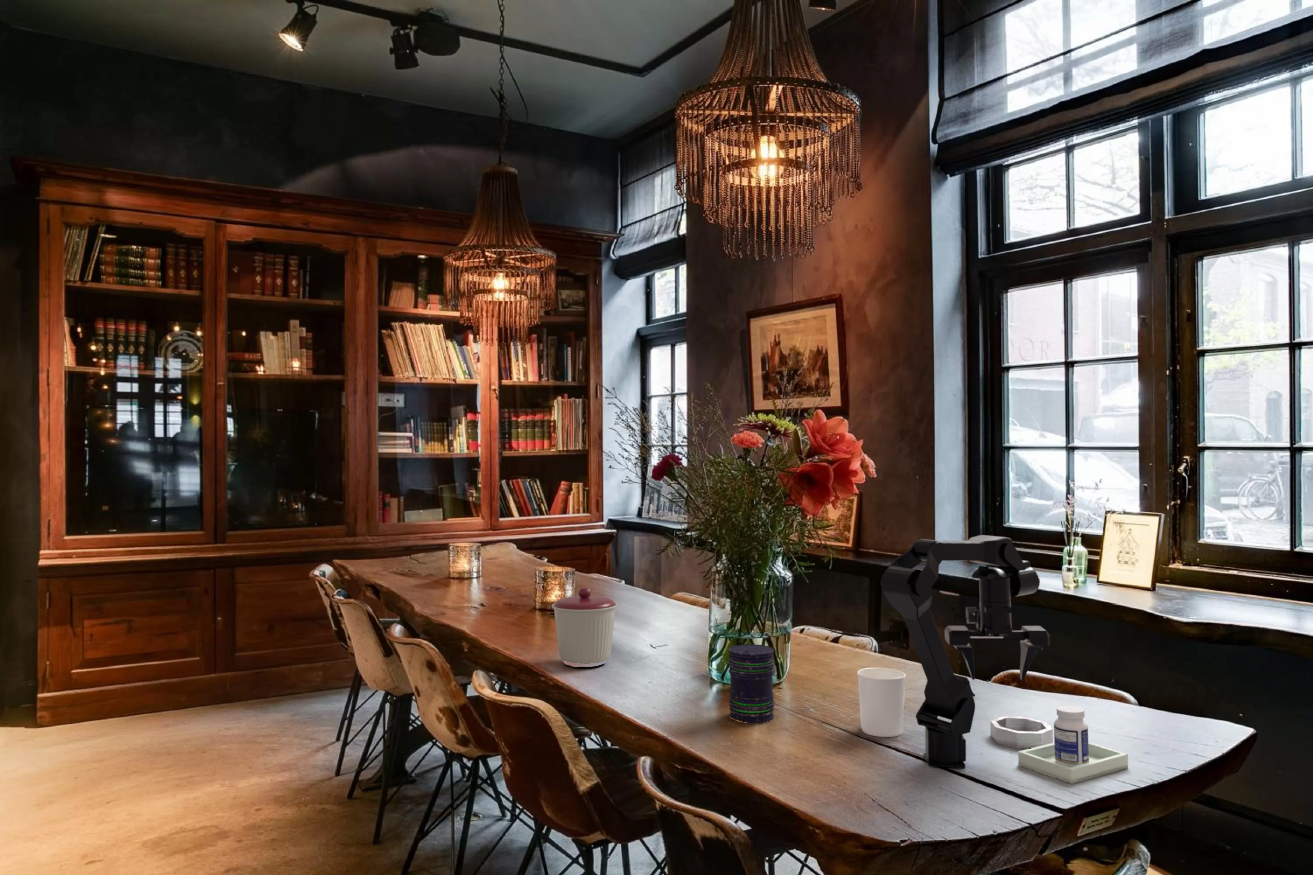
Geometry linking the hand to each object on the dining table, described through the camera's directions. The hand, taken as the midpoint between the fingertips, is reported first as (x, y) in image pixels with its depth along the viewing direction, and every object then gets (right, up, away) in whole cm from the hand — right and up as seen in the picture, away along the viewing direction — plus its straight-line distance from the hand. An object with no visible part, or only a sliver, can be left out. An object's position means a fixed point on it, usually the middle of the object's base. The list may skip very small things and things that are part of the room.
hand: (997, 679), depth 176 cm
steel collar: (+6, -13, +4) cm, 15 cm away
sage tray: (+10, -13, -11) cm, 20 cm away
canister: (-87, -15, +71) cm, 113 cm away
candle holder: (-20, -14, +10) cm, 26 cm away
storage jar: (-46, -14, +21) cm, 52 cm away
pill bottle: (+9, -13, -11) cm, 19 cm away
